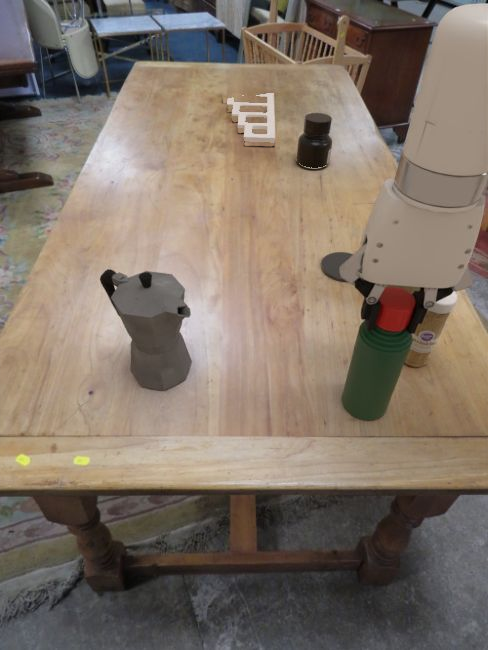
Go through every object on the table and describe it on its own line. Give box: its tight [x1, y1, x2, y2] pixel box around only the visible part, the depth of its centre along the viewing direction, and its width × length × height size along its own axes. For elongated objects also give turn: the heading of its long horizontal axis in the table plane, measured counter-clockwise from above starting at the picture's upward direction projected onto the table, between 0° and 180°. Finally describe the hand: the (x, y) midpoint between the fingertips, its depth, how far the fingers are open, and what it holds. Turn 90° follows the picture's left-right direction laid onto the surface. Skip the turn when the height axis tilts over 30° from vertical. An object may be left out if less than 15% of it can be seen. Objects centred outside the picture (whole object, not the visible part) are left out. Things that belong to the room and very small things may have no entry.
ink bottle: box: [295, 112, 333, 168], centre depth 114 cm, size 10×9×12 cm
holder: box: [226, 92, 276, 143], centre depth 141 cm, size 45×18×3 cm, turn 178°
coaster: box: [320, 251, 362, 283], centre depth 85 cm, size 9×9×1 cm
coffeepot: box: [99, 268, 193, 391], centre depth 61 cm, size 15×9×18 cm, turn 57°
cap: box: [375, 287, 416, 332], centre depth 50 cm, size 4×4×3 cm
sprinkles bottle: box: [404, 291, 459, 368], centre depth 64 cm, size 5×5×13 cm
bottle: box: [341, 320, 413, 422], centre depth 56 cm, size 6×6×19 cm
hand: (388, 322), depth 51 cm, fingers closed on cap, 4 cm apart
